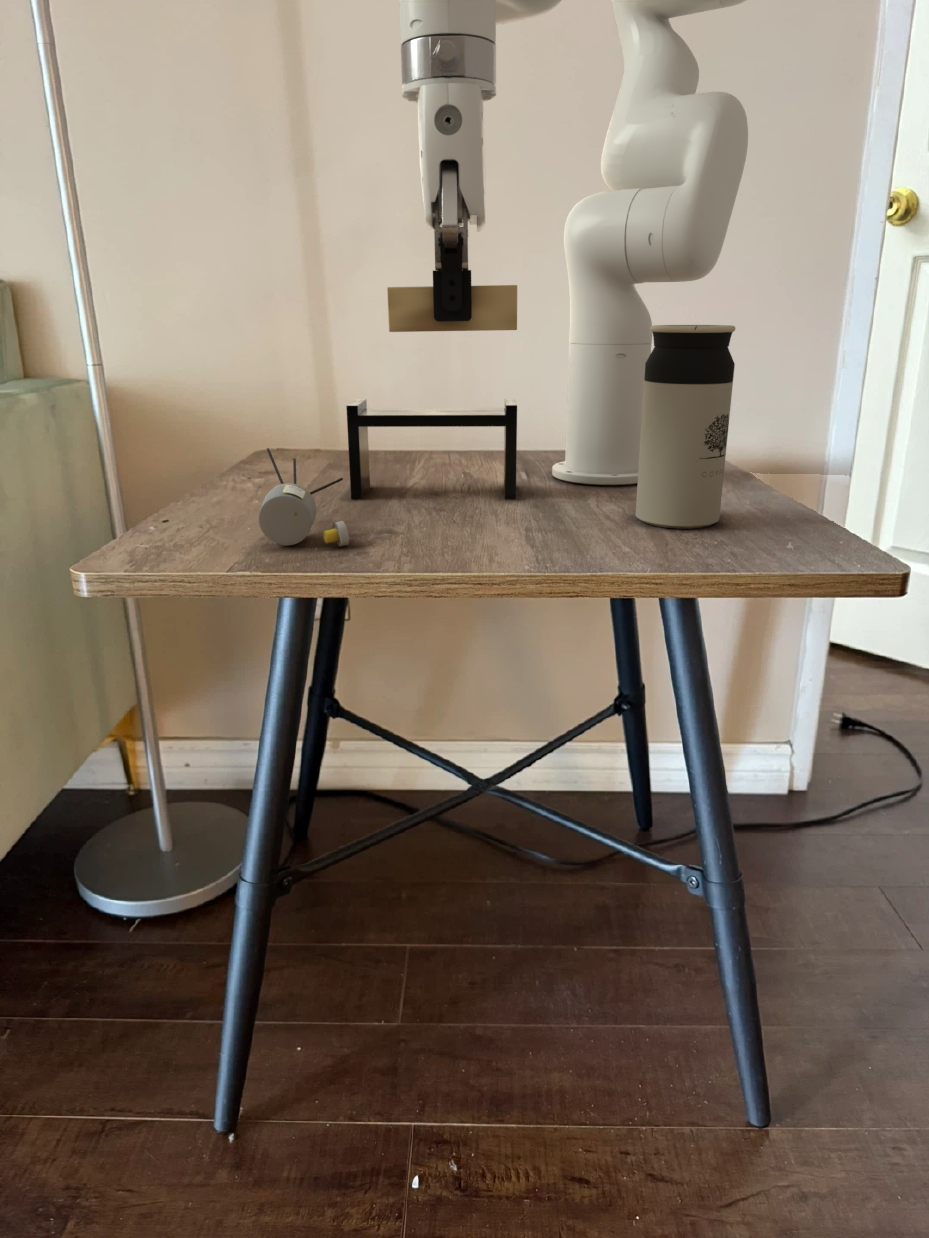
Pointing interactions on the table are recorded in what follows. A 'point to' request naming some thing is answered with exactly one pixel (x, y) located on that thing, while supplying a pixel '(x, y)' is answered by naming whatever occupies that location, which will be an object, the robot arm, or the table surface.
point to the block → (416, 314)
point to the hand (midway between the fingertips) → (453, 318)
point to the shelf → (426, 417)
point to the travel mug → (685, 425)
